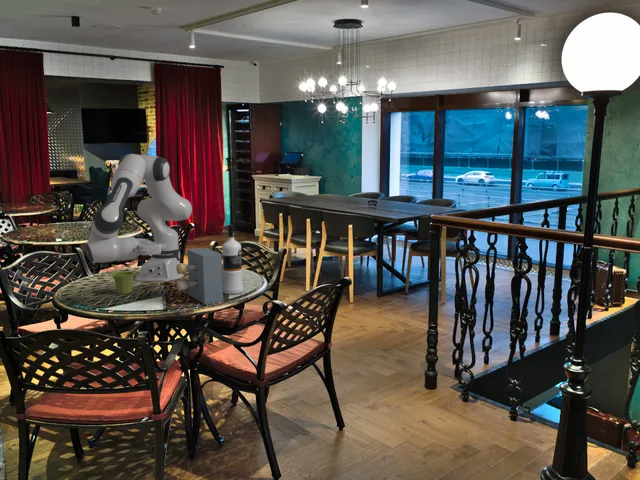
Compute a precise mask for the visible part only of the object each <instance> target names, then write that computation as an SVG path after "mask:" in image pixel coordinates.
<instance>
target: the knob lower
mask: <svg viewBox="0 0 640 480" xmlns="http://www.w3.org/2000/svg"><path fill="white" fill-rule="evenodd" d="M176 282H177V283H176V286H177V290H178V291H179V292H180V291H186V290H188V288H189V287H190V286H197V285H198V284H197V281H194V282H189V281H187V279H182V280H178V281H176Z"/></svg>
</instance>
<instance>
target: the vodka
mask: <svg viewBox="0 0 640 480" xmlns="http://www.w3.org/2000/svg"><path fill="white" fill-rule="evenodd" d="M227 237H228V238H227V241H225V242H224V243H223V244H222V246H221V251H222V253H221V255H222V282H223V294H225V295H227V296H229V295H231V296H232V295H240V294H242V293H244V291H245V288H244V284H243V269H242V267H243V266H242V244H241V243H240V242H239V241H237V240H235V225H234V224H228V225H227Z"/></svg>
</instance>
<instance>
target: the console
mask: <svg viewBox="0 0 640 480" xmlns="http://www.w3.org/2000/svg"><path fill="white" fill-rule="evenodd" d="M186 251H187V266H190V265H197V269H193V270H187V271H188V273H187V274H188V282H194V281H197V284H198V285H197V286H190V287H188V290H189V291H188V292H189V293H188V294H189V295H188V296H189V297H192V298H193V299H195V300H197V301H199V303H200V302H201V303H202V305H210V304H216V303H223V302H224V293H223V254H222V253H220V252H217V251H215V250H212V249H210V248H208V247H207V248H206V247H200V248H191V249H187V250H186Z"/></svg>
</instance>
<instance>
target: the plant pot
mask: <svg viewBox="0 0 640 480" xmlns="http://www.w3.org/2000/svg"><path fill="white" fill-rule="evenodd" d="M134 275H136V274H135V272H134V271H119V272H115V273H112V274H111V276H112V277H113V280H114V283H115V287H116V289H115V290H116V293H117V294H118V295H128V294H130V293H132V292H133V285H134V284H133V283H134V282H133V281H134V280H133V279H134Z"/></svg>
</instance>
